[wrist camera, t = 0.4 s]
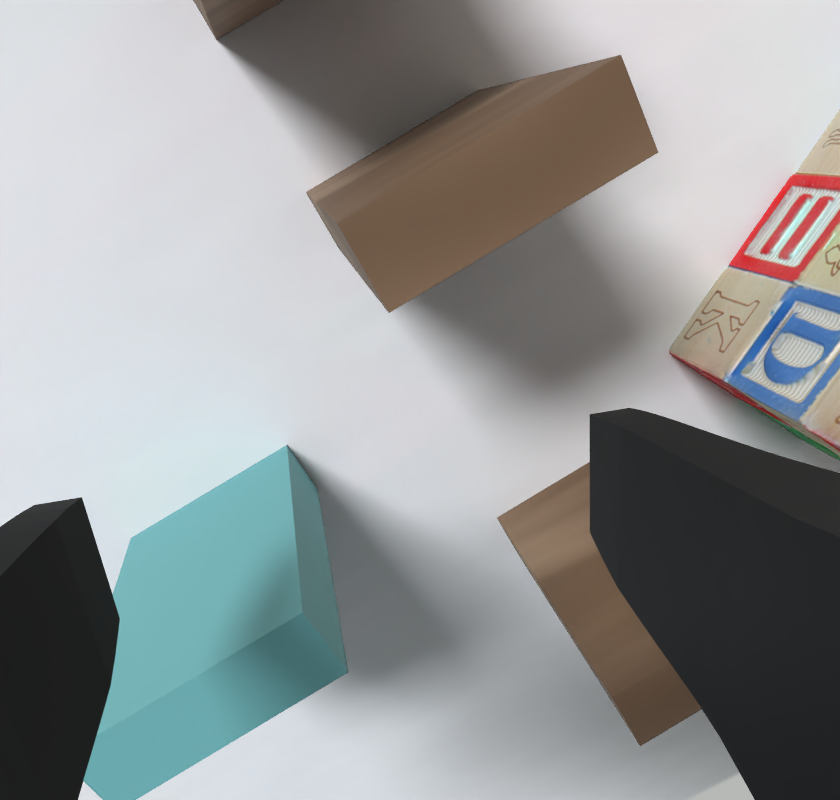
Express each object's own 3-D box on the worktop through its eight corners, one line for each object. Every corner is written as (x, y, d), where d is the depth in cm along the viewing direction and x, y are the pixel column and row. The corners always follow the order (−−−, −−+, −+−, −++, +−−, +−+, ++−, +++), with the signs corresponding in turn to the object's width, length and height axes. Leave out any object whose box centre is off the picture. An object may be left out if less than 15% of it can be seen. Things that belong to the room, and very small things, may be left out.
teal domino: (317, 488, 21) (348, 672, 14) (165, 579, 21) (115, 811, 14) (286, 445, 21) (302, 612, 13) (131, 537, 21) (59, 757, 13)
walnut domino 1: (505, 149, 19) (658, 152, 12) (338, 248, 19) (389, 313, 12) (477, 90, 19) (620, 54, 11) (306, 192, 19) (337, 223, 11)
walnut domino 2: (655, 473, 23) (839, 625, 16) (519, 555, 23) (640, 746, 16) (637, 433, 23) (819, 572, 15) (496, 517, 23) (612, 697, 15)
